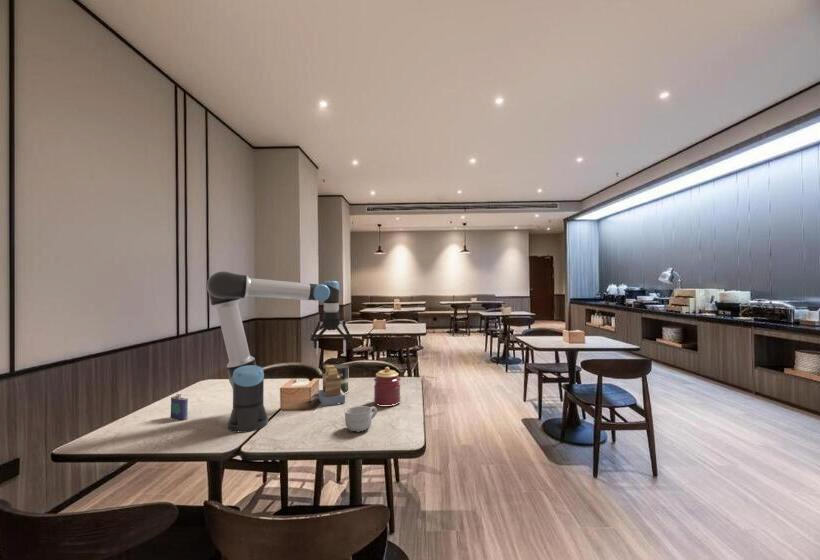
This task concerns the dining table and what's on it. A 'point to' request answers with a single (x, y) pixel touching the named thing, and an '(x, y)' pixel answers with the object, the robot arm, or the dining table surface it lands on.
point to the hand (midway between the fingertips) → (331, 353)
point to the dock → (331, 398)
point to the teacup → (359, 417)
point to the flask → (179, 407)
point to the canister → (387, 387)
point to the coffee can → (343, 376)
